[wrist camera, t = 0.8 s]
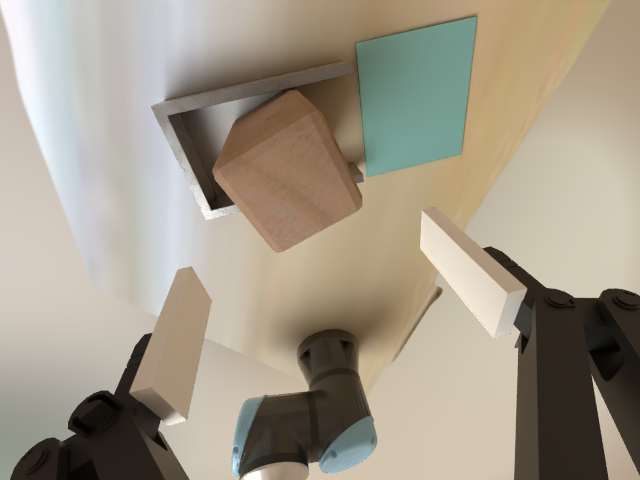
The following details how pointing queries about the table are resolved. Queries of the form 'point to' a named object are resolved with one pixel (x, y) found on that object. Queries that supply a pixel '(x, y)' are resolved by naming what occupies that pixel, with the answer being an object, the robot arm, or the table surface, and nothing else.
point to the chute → (172, 108)
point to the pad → (415, 94)
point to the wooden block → (286, 171)
